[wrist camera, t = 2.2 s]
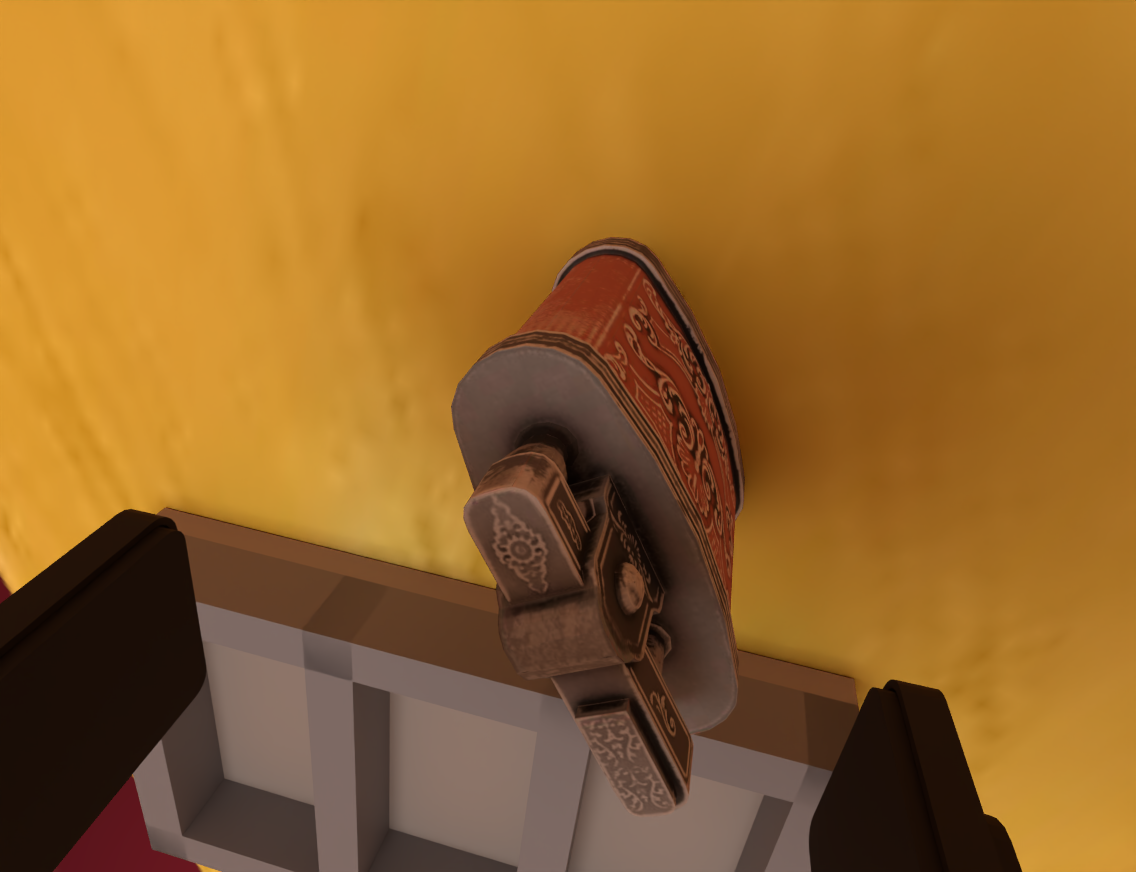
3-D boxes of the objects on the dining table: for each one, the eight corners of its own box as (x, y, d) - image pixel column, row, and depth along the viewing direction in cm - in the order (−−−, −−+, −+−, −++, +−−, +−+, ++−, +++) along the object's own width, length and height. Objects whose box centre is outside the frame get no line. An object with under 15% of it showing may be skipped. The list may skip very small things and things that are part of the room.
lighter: (530, 267, 18) (324, 462, 10) (659, 213, 17) (556, 382, 8) (652, 532, 21) (577, 872, 12) (770, 502, 20) (781, 857, 11)
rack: (854, 679, 22) (869, 781, 19) (746, 933, 28) (744, 1039, 25) (165, 507, 25) (82, 571, 22) (210, 771, 31) (151, 849, 28)
